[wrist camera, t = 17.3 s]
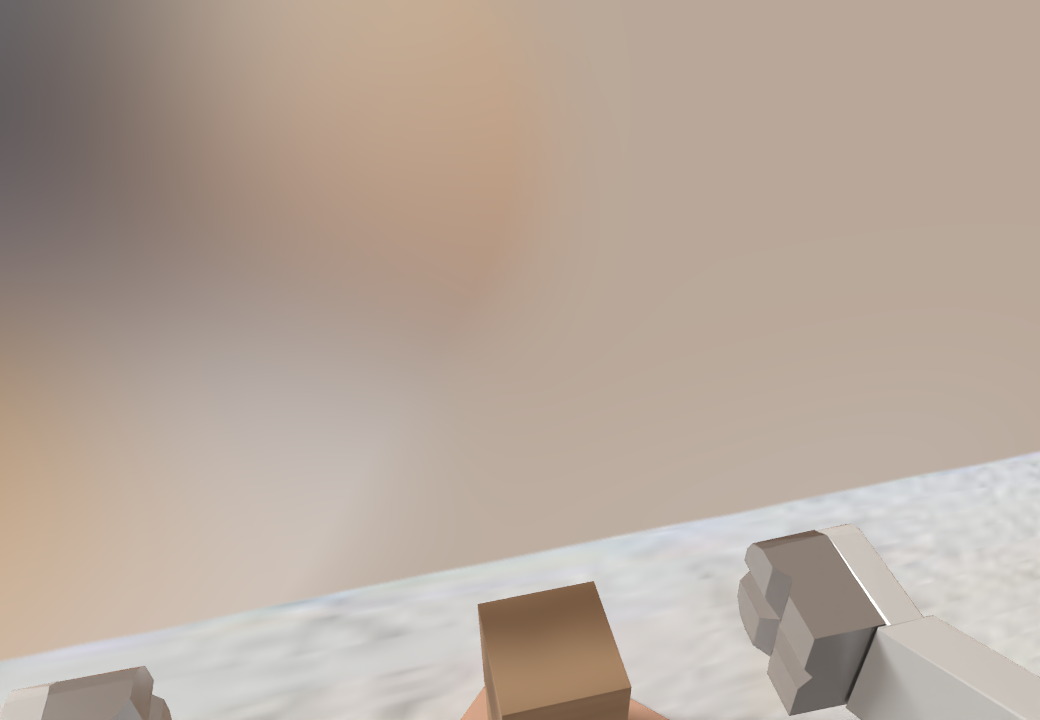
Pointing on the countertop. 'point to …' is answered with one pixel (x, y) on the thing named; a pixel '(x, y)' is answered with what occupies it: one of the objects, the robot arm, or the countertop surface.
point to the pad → (637, 716)
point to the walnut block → (552, 658)
